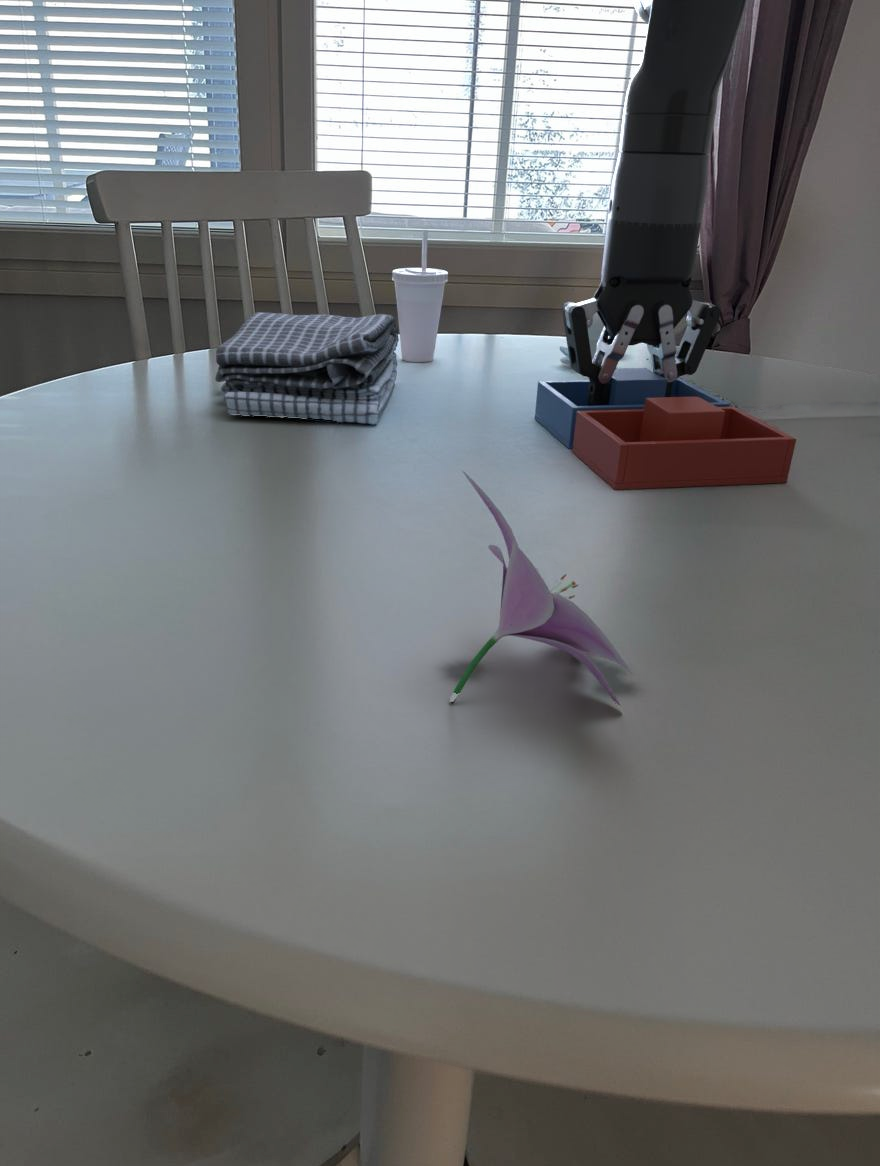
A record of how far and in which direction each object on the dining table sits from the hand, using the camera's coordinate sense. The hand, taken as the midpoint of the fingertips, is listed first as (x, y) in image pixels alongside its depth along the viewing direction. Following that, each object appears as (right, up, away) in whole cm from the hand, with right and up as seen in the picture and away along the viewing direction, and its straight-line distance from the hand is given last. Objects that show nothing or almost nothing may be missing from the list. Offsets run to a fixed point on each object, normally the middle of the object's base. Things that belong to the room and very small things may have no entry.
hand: (626, 421), depth 84 cm
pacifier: (+1, +12, +24) cm, 26 cm away
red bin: (+2, -6, -9) cm, 11 cm away
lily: (-14, -22, -40) cm, 48 cm away
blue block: (0, 0, 0) cm, 0 cm away
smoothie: (-18, +13, +26) cm, 34 cm away
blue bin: (0, -1, 0) cm, 1 cm away
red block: (+2, -5, -9) cm, 11 cm away
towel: (-29, +4, +8) cm, 30 cm away
